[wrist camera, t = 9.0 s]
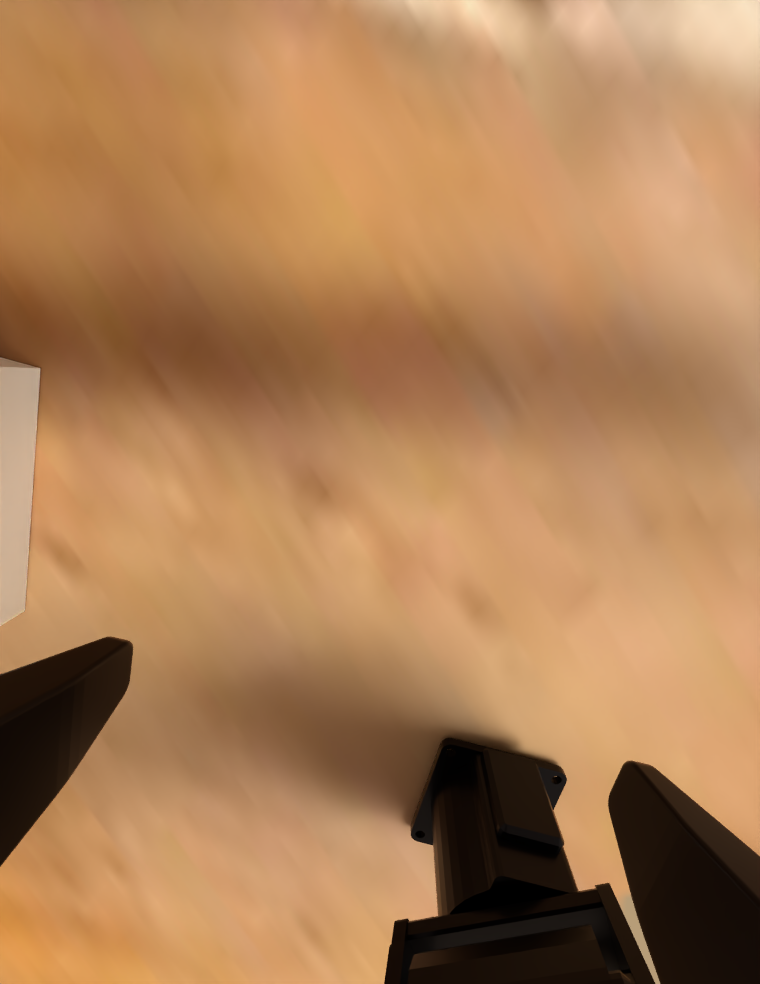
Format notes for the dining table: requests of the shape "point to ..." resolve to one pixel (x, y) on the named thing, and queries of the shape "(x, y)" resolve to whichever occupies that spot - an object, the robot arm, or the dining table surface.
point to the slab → (16, 480)
